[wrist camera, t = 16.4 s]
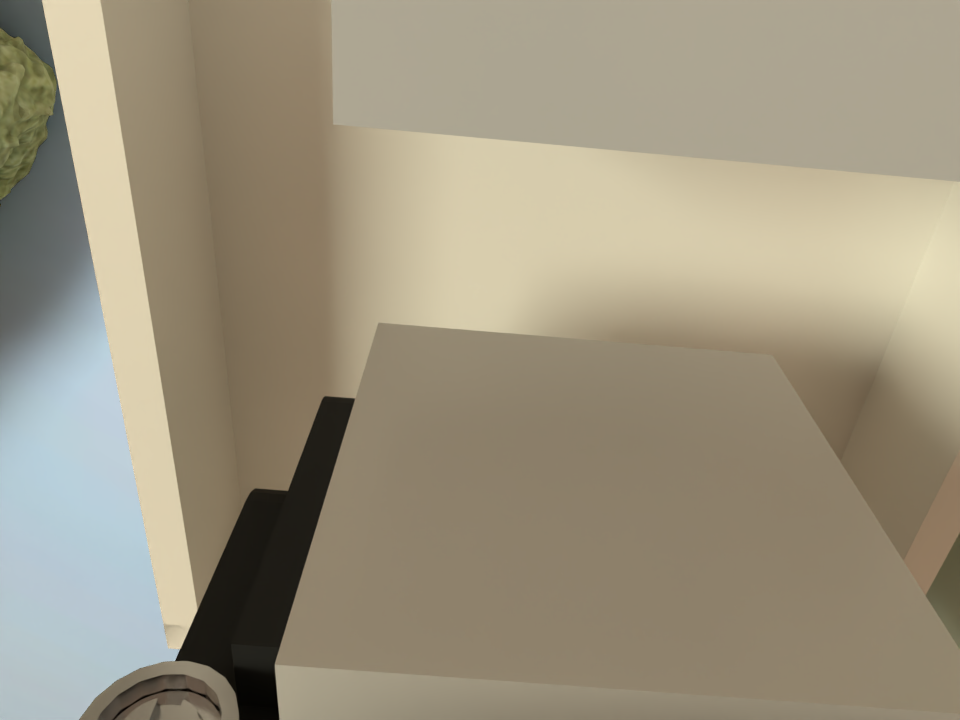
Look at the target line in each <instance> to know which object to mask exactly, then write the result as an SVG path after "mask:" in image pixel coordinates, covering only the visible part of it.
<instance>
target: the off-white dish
mask: <svg viewBox="0 0 960 720" xmlns="http://www.w3.org/2000/svg"><path fill="white" fill-rule="evenodd" d="M42 3H43V8H44V13H45V18H46V24H47V29H48V34H49V39H50V44H51V49H52V54H53V59H54V65H55V70H56V75H57V80H58V85H59V90H60V95H61V100H62V106H63V111H64V116H65V121H66V126H67V131H68V136H69V141H70V147H71V152H72V157H73V162H74V167H75V172H76V177H77V182H78V188H79V193H80V198H81V203H82V208H83V213H84V218H85V224H86V229H87V234H88V239H89V244H90V249H91V254H92V259H93V265H94V270H95V275H96V280H97V285H98V290H99V295H100V300H101V306H102V311H103V316H104V321H105V326H106V331H107V336H108V341H109V347H110V352H111V357H112V362H113V367H114V372H115V377H116V382H117V388H118V393H119V398H120V403H121V408H122V413H123V418H124V423H125V429H126V434H127V439H128V444H129V449H130V454H131V459H132V465H133V470H134V475H135V480H136V485H137V490H138V495H139V500H140V506H141V511H142V516H143V521H144V526H145V531H146V536H147V541H148V547H149V552H150V557H151V562H152V567H153V572H154V577H155V582H156V588H157V593H158V598H159V603H160V608H161V613H162V618H163V623H164V629H165V634H166V639H167V644H168V648H172V649H181V647H182V644H183V642H184V640H185V638H186V635H187V633H188V631H189V628H190V626H191V624H192V622H193V619H194V617H195V615H196V613H197V610H198V608H199V606H200V603H201V601H202V599H203V597H204V594H205V592H206V590H207V588H208V585H209V583H210V581H211V578H212V576H213V574H214V572H215V569H216V567H217V565H218V562H219V560H220V558H221V556H222V553H223V551H224V549H225V547H226V544H227V542H228V540H229V537H230V535H231V533H232V531H233V528H234V526H235V524H236V522H237V519H238V517H239V515H240V512H241V510H242V508H243V506H244V503H245V501H246V499H247V497H248V496H249V494H250V492H251V491H252V490H254V489H255V488H258V489H271V490H284V491H288V489H289V487H290V484H291V481H292V478H293V476H294V473H295V470H296V468H297V465H298V462H299V460H300V457H301V454H302V452H303V449H304V446H305V444H306V441H307V438H308V436H309V433H310V430H311V428H312V425H313V422H314V419H315V417H316V414H317V411H318V409H319V406H320V403H321V401H322V399H323V397H324V396H331V397H344V398H356V395H357V392H358V388H359V385H360V382H361V378H362V375H363V372H364V368H365V365H366V362H367V359H368V355H369V352H370V349H371V345H372V342H373V339H374V336H375V332H376V329H377V326H378V323H389V324H401V325H414V326H426V327H438V328H450V329H463V330H475V331H487V332H499V333H512V334H524V335H536V336H548V337H561V338H573V339H585V340H597V341H610V342H622V343H634V344H646V345H658V346H671V347H683V348H695V349H707V350H720V351H732V352H744V353H756V354H769V355H773V357H774V358H775V360H776V361H777V363H778V364H779V366H780V368H781V369H782V371H783V372H784V374H785V375H786V377H787V379H788V380H789V382H790V383H791V385H792V386H793V388H794V390H795V391H796V393H797V394H798V396H799V397H800V399H801V401H802V402H803V404H804V405H805V407H806V409H807V410H808V412H809V413H810V415H811V416H812V418H813V420H814V421H815V423H816V424H817V426H818V427H819V429H820V431H821V432H822V434H823V435H824V437H825V438H826V440H827V442H828V443H829V445H830V446H831V448H832V449H833V451H834V453H835V454H836V456H837V457H838V459H839V460H840V462H841V464H842V465H843V467H844V468H845V470H846V471H847V473H848V475H849V476H850V478H851V479H852V481H853V482H854V484H855V486H856V487H857V489H858V490H859V492H860V493H861V495H862V497H863V498H864V500H865V501H866V503H867V504H868V506H869V508H870V509H871V511H872V512H873V514H874V515H875V517H876V519H877V520H878V522H879V523H880V525H881V527H882V528H883V530H884V531H885V533H886V534H887V536H888V538H889V539H890V541H891V542H892V544H893V545H894V547H895V549H896V550H897V552H898V553H899V555H900V556H901V558H902V560H903V561H904V563H905V564H906V566H907V567H908V569H909V571H910V572H911V574H912V575H913V577H914V578H915V580H916V582H917V583H918V585H919V586H920V588H921V589H922V591H923V593H924V594H925V595H926V594H927V592H928V590H929V588H930V586H931V584H932V583H933V581H934V579H935V577H936V575H937V573H938V571H939V570H940V568H941V566H942V564H943V562H944V560H945V559H946V557H947V555H948V553H949V551H950V549H951V548H952V546H953V544H954V542H955V540H956V538H957V537H958V535H959V533H960V182H956V181H945V180H934V179H923V178H913V177H902V176H891V175H880V174H869V173H858V172H847V171H836V170H825V169H814V168H803V167H792V166H782V165H771V164H760V163H749V162H738V161H727V160H716V159H705V158H694V157H683V156H672V155H661V154H651V153H640V152H629V151H618V150H607V149H596V148H585V147H574V146H563V145H552V144H541V143H531V142H520V141H509V140H498V139H487V138H476V137H465V136H454V135H443V134H432V133H421V132H410V131H400V130H389V129H378V128H367V127H356V126H345V125H334V124H333V80H332V11H331V0H42Z"/></svg>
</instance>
